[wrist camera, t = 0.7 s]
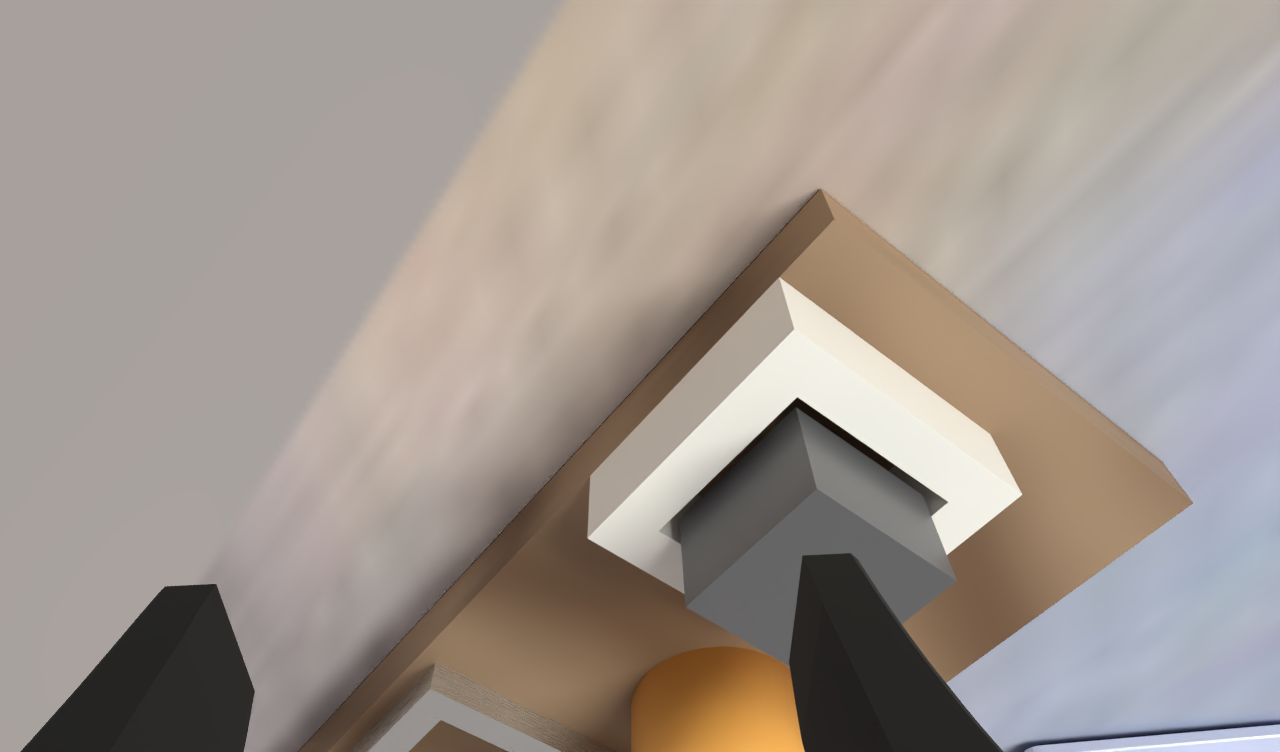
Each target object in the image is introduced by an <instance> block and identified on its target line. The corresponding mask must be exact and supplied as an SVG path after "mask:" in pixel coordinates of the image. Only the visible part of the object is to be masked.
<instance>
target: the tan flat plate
mask: <svg viewBox="0 0 1280 752" xmlns="http://www.w3.org/2000/svg"><path fill="white" fill-rule="evenodd" d="M779 277H780V278H781V279H782V280H784V281H785V282H786V283H788V284H789V285H790V286H792V287H793V288H795V289H796V290H797V291H799V292H800V293H801V294H803V295H804V296H805V297H807V298H808V299H809V300H811V301H812V302H813V303H815V304H816V305H817V306H819V307H820V308H821V309H823V310H824V311H825V312H827V313H828V314H829V315H831V316H832V317H833V318H835V319H836V320H837V321H839V322H840V323H842V324H843V325H844V326H846V327H847V328H848V329H850V330H851V331H852V332H854V333H855V334H856V335H858V336H859V337H860V338H862V339H863V340H864V341H866V342H867V343H868V344H870V345H871V346H872V347H874V348H875V349H876V350H878V351H879V352H880V353H882V354H883V355H885V356H886V357H887V358H889V359H890V360H891V361H893V362H894V363H895V364H897V365H898V366H899V367H901V368H902V369H903V370H905V371H906V372H907V373H909V374H910V375H911V376H913V377H914V378H915V379H917V380H918V381H919V382H921V383H922V384H923V385H925V386H926V387H928V388H929V389H930V390H932V391H933V392H934V393H936V394H937V395H938V396H940V397H941V398H942V399H944V400H945V401H946V402H948V403H949V404H950V405H952V406H953V407H954V408H956V409H957V410H958V411H960V412H961V413H962V414H964V415H965V416H966V417H968V418H969V419H970V420H972V421H973V422H975V423H976V424H977V425H979V426H980V427H981V428H983V429H984V430H985V431H987V432H988V433H989V434H990V435H991V437H992V438H993V440H994V442H995V444H996V446H997V448H998V450H999V452H1000V453H1001V455H1002V457H1003V459H1004V461H1005V463H1006V465H1007V467H1008V469H1009V470H1010V472H1011V474H1012V476H1013V478H1014V480H1015V482H1016V484H1017V485H1018V487H1019V489H1020V491H1021V493H1022V495H1021V496H1020V497H1019V498H1018V499H1016V500H1015V501H1014V502H1013V503H1011V504H1010V505H1009V506H1008V507H1006V508H1005V509H1004V510H1003V511H1001V512H1000V513H999V514H998V515H996V516H995V517H994V518H993V519H991V520H990V521H989V522H988V523H986V524H985V525H984V526H983V527H981V528H980V529H979V530H978V531H976V532H975V533H974V534H973V535H971V536H970V537H969V538H968V539H966V540H965V541H964V542H963V543H961V544H960V545H959V546H958V547H956V548H955V549H954V550H953V551H951V552H950V553H949V554H948V555H947V557H948V560H949V562H950V565H951V567H952V570H953V572H954V575H955V577H956V580H957V581H956V582H955V583H954V584H953V585H951V586H950V587H949V588H947V589H946V590H945V591H944V592H942V593H941V594H940V595H938V596H937V597H936V598H935V599H933V600H932V601H931V602H929V603H928V604H927V605H926V606H924V607H923V608H922V609H920V610H919V611H918V612H917V613H915V614H914V615H913V616H911V617H910V618H909V619H908V620H906V621H905V622H904V623H902V625H903V627H904V628H905V630H906V631H907V632H908V634H909V635H910V637H911V638H912V639H913V641H914V642H915V643H916V645H917V646H918V647H919V649H920V650H921V651H922V653H923V654H924V655H925V657H926V658H927V659H928V661H929V662H930V663H931V665H932V666H933V667H934V668H935V670H936V671H937V672H938V673H939V675H940V676H941V677H942V679H943V680H944V681H945V682H948V681H949V680H951V679H952V678H953V677H955V676H956V675H957V674H959V673H960V672H962V671H963V670H964V669H966V668H967V667H968V666H970V665H971V664H973V663H974V662H975V661H977V660H978V659H979V658H981V657H982V656H984V655H985V654H986V653H988V652H989V651H990V650H992V649H993V648H995V647H996V646H997V645H999V644H1000V643H1001V642H1003V641H1004V640H1006V639H1007V638H1008V637H1010V636H1011V635H1012V634H1014V633H1015V632H1017V631H1018V630H1019V629H1021V628H1022V627H1023V626H1025V625H1026V624H1028V623H1029V622H1030V621H1032V620H1033V619H1034V618H1036V617H1037V616H1039V615H1040V614H1041V613H1043V612H1044V611H1045V610H1047V609H1048V608H1050V607H1051V606H1052V605H1054V604H1055V603H1056V602H1058V601H1059V600H1061V599H1062V598H1063V597H1065V596H1066V595H1067V594H1069V593H1070V592H1072V591H1073V590H1074V589H1076V588H1077V587H1078V586H1080V585H1081V584H1083V583H1084V582H1085V581H1087V580H1088V579H1089V578H1091V577H1092V576H1094V575H1095V574H1096V573H1098V572H1099V571H1100V570H1102V569H1103V568H1105V567H1106V566H1107V565H1109V564H1110V563H1111V562H1113V561H1114V560H1116V559H1117V558H1118V557H1120V556H1121V555H1122V554H1124V553H1125V552H1127V551H1128V550H1129V549H1131V548H1132V547H1133V546H1135V545H1136V544H1138V543H1139V542H1140V541H1142V540H1143V539H1144V538H1146V537H1147V536H1149V535H1150V534H1151V533H1153V532H1154V531H1155V530H1157V529H1158V528H1160V527H1161V526H1162V525H1164V524H1165V523H1166V522H1168V521H1169V520H1171V519H1172V518H1173V517H1175V516H1176V515H1177V514H1179V513H1180V512H1182V511H1183V510H1184V509H1186V508H1187V507H1188V506H1190V505H1191V504H1193V502H1192V501H1191V499H1190V498H1189V497H1188V495H1187V494H1186V493H1185V491H1184V490H1183V489H1182V487H1181V486H1180V485H1179V483H1178V482H1177V481H1176V479H1175V478H1174V477H1173V475H1172V474H1171V473H1170V471H1169V470H1168V469H1167V467H1166V466H1165V465H1164V463H1163V462H1162V461H1161V460H1159V459H1158V458H1157V457H1156V456H1154V455H1153V454H1152V453H1151V452H1150V451H1148V450H1147V449H1146V448H1145V447H1143V446H1142V445H1141V444H1140V443H1138V442H1137V441H1136V440H1135V439H1133V438H1132V437H1131V436H1130V435H1128V434H1127V433H1126V432H1125V431H1123V430H1122V429H1121V428H1120V427H1118V426H1117V425H1116V424H1115V423H1113V422H1112V421H1111V420H1110V419H1108V418H1107V417H1106V416H1105V415H1103V414H1102V413H1101V412H1100V411H1098V410H1097V409H1096V408H1095V407H1093V406H1092V405H1091V404H1090V403H1088V402H1087V401H1086V400H1085V399H1083V398H1082V397H1081V396H1080V395H1078V394H1077V393H1076V392H1075V391H1073V390H1072V389H1071V388H1070V387H1068V386H1067V385H1066V384H1065V383H1063V382H1062V381H1061V380H1060V379H1058V378H1057V377H1056V376H1055V375H1053V374H1052V373H1051V372H1050V371H1048V370H1047V369H1046V368H1045V367H1043V366H1042V365H1041V364H1040V363H1038V362H1037V361H1036V360H1035V359H1033V358H1032V357H1031V356H1030V355H1028V354H1027V353H1026V352H1025V351H1023V350H1022V349H1021V348H1020V347H1018V346H1017V345H1016V344H1015V343H1013V342H1012V341H1011V340H1010V339H1008V338H1007V337H1006V336H1005V335H1003V334H1002V333H1001V332H1000V331H998V330H997V329H996V328H995V327H993V326H992V325H991V324H990V323H988V322H987V321H986V320H985V319H983V318H982V317H981V316H980V315H978V314H977V313H976V312H975V311H973V310H972V309H971V308H970V307H968V306H967V305H966V304H965V303H963V302H962V301H961V300H960V299H958V298H957V297H956V296H955V295H953V294H952V293H951V292H950V291H948V290H947V289H946V288H945V287H943V286H942V285H941V284H940V283H938V282H937V281H936V280H935V279H933V278H932V277H931V276H930V275H928V274H927V273H926V272H925V271H923V270H922V269H921V268H920V267H918V266H917V265H916V264H915V263H913V262H912V261H911V260H910V259H908V258H907V257H906V256H905V255H903V254H902V253H901V252H900V251H898V250H897V249H896V248H895V247H893V246H892V245H891V244H890V243H888V242H887V241H886V240H885V239H883V238H882V237H881V236H880V235H878V234H877V233H876V232H875V231H873V230H872V229H871V228H870V227H868V226H867V225H866V224H865V223H863V222H862V221H861V220H860V219H858V218H857V217H856V216H855V215H853V214H852V213H851V212H850V211H848V210H847V209H846V208H845V207H843V206H842V205H841V204H840V203H838V202H837V201H836V200H835V199H833V198H832V197H831V196H830V195H828V194H827V193H826V192H825V191H824V190H822V189H820V190H819V191H818V192H817V193H816V194H815V195H814V196H813V198H812V199H811V200H810V201H809V202H808V203H807V204H806V205H805V206H804V207H803V208H802V209H801V210H800V212H799V213H798V214H797V215H796V216H795V217H794V218H793V219H792V220H791V221H790V222H789V223H788V224H787V226H786V227H785V228H784V229H783V230H782V231H781V232H780V233H779V234H778V235H777V236H776V237H775V238H774V240H773V241H772V242H771V243H770V244H769V245H768V246H767V247H766V248H765V249H764V250H763V251H762V252H761V254H760V255H759V256H758V257H757V258H756V259H755V260H754V261H753V262H752V263H751V264H750V265H749V266H748V268H747V269H746V270H745V271H744V272H743V273H742V274H741V275H740V276H739V277H738V278H737V279H736V281H735V282H734V283H733V284H732V285H731V286H730V287H729V288H728V289H727V290H726V291H725V292H724V293H723V295H722V296H721V297H720V298H719V299H718V300H717V301H716V302H715V303H714V304H713V305H712V306H711V307H710V309H709V310H708V311H707V312H706V313H705V314H704V315H703V316H702V317H701V318H700V319H699V320H698V321H697V323H696V324H695V325H694V326H693V327H692V328H691V329H690V330H689V331H688V332H687V333H686V334H685V335H684V337H683V338H682V339H681V340H680V341H679V342H678V343H677V344H676V345H675V346H674V347H673V348H672V350H671V351H670V352H669V353H668V354H667V355H666V356H665V357H664V358H663V359H662V360H661V361H660V362H659V364H658V365H657V366H656V367H655V368H654V369H653V370H652V371H651V372H650V373H649V374H648V375H647V376H646V378H645V379H644V380H643V381H642V382H641V383H640V384H639V385H638V386H637V387H636V388H635V389H634V390H633V392H632V393H631V394H630V395H629V396H628V397H627V398H626V399H625V400H624V401H623V402H622V403H621V404H620V406H619V407H618V408H617V409H616V410H615V411H614V412H613V413H612V414H611V415H610V416H609V417H608V418H607V420H606V421H605V422H604V423H603V424H602V425H601V426H600V427H599V428H598V429H597V430H596V431H595V433H594V434H593V435H592V436H591V437H590V438H589V439H588V440H587V441H586V442H585V443H584V444H583V445H582V447H581V448H580V449H579V450H578V451H577V452H576V453H575V454H574V455H573V456H572V457H571V458H570V459H569V461H568V462H567V463H566V464H565V465H564V466H563V467H562V468H561V469H560V470H559V471H558V472H557V473H556V475H555V476H554V477H553V478H552V479H551V480H550V481H549V482H548V483H547V484H546V485H545V486H544V487H543V489H542V490H541V491H540V492H539V493H538V494H537V495H536V496H535V497H534V498H533V499H532V500H531V502H530V503H529V504H528V505H527V506H526V507H525V508H524V509H523V510H522V511H521V512H520V513H519V514H518V516H517V517H516V518H515V519H514V520H513V521H512V522H511V523H510V524H509V525H508V526H507V527H506V528H505V530H504V531H503V532H502V533H501V534H500V535H499V536H498V537H497V538H496V539H495V540H494V541H493V542H492V544H491V545H490V546H489V547H488V548H487V549H486V550H485V551H484V552H483V553H482V554H481V555H480V556H479V558H478V559H477V560H476V561H475V562H474V563H473V564H472V565H471V566H470V567H469V568H468V569H467V570H466V572H465V573H464V574H463V575H462V576H461V577H460V578H459V579H458V580H457V581H456V582H455V583H454V585H453V586H452V587H451V588H450V589H449V590H448V591H447V592H446V593H445V594H444V595H443V596H442V597H441V599H440V600H439V601H438V602H437V603H436V604H435V605H434V606H433V607H432V608H431V609H430V610H429V611H428V613H427V614H426V615H425V616H424V617H423V618H422V619H421V620H420V621H419V622H418V623H417V624H416V625H415V627H414V628H413V629H412V630H411V631H410V632H409V633H408V634H407V635H406V636H405V637H404V638H403V639H402V641H401V642H400V643H399V644H398V645H397V646H396V647H395V648H394V649H393V650H392V651H391V652H390V653H389V655H388V656H387V657H386V658H385V659H384V660H383V661H382V662H381V663H380V664H379V665H378V666H377V668H376V669H375V670H374V671H373V672H372V673H371V674H370V675H369V676H368V677H367V678H366V679H365V680H364V682H363V683H362V684H361V685H360V686H359V687H358V688H357V689H356V690H355V691H354V692H353V693H352V694H351V696H350V697H349V698H348V699H347V700H346V701H345V702H344V703H343V704H342V705H341V706H340V707H339V708H338V710H337V711H336V712H335V713H334V714H333V715H332V716H331V717H330V718H329V719H328V720H327V721H326V722H325V724H324V725H323V726H322V727H321V728H320V729H319V730H318V731H317V732H316V733H315V734H314V735H313V737H312V738H311V739H310V740H309V741H308V742H307V743H306V744H305V745H304V746H303V747H302V748H301V749H300V751H299V752H349V751H350V750H351V749H352V748H353V747H354V746H355V745H356V744H357V743H358V742H359V741H360V740H361V739H362V738H363V737H364V736H365V735H366V734H367V733H368V732H369V731H370V730H371V729H372V728H373V727H374V726H375V725H376V724H377V723H378V722H379V721H380V719H381V718H382V717H383V716H384V715H385V714H386V713H387V712H388V711H389V710H390V709H391V708H392V707H393V706H394V705H395V704H396V703H397V702H398V701H399V700H400V699H401V698H402V697H403V696H404V695H405V694H406V693H407V692H408V691H409V690H410V689H411V687H412V686H413V685H414V684H415V683H416V682H417V681H418V680H419V679H420V678H421V677H422V676H423V675H424V674H425V673H426V672H427V671H428V670H429V669H430V668H431V667H432V666H433V665H434V664H435V663H437V664H439V665H441V666H443V667H445V668H447V669H449V670H451V671H454V672H456V673H458V674H460V675H462V676H464V677H466V678H468V679H470V680H472V681H474V682H476V683H478V684H480V685H482V686H484V687H486V688H488V689H490V690H492V691H494V692H496V693H498V694H500V695H503V696H505V697H507V698H509V699H511V700H513V701H515V702H517V703H519V704H521V705H523V706H525V707H527V708H529V709H531V710H533V711H535V712H537V713H539V714H541V715H543V716H545V717H547V718H550V719H552V720H554V721H556V722H558V723H560V724H562V725H564V726H566V727H568V728H570V729H572V730H574V731H576V732H578V733H580V734H582V735H584V736H586V737H588V738H590V739H592V740H594V741H597V742H599V743H601V744H603V745H605V746H607V747H609V748H611V749H613V750H615V751H617V752H631V702H632V697H633V694H634V691H635V689H636V687H637V685H638V684H639V682H640V681H641V680H642V678H643V677H644V676H645V675H646V674H647V673H648V672H649V671H650V670H651V669H653V668H654V667H655V666H657V665H658V664H660V663H661V662H663V661H665V660H666V659H668V658H671V657H673V656H675V655H677V654H680V653H683V652H686V651H690V650H694V649H699V648H706V647H718V646H727V647H739V648H746V649H750V650H754V651H757V652H760V653H763V654H766V655H768V656H770V657H772V656H771V655H769V654H767V653H765V652H764V651H762V650H760V649H758V648H757V647H755V646H753V645H751V644H750V643H748V642H746V641H744V640H743V639H741V638H739V637H737V636H735V635H734V634H732V633H730V632H728V631H727V630H725V629H723V628H721V627H720V626H718V625H716V624H714V623H713V622H711V621H709V620H707V619H706V618H704V617H702V616H700V615H698V614H697V613H695V612H693V611H691V610H690V609H688V608H686V607H685V594H683V593H682V592H680V591H678V590H677V589H675V588H673V587H671V586H670V585H668V584H666V583H664V582H663V581H661V580H659V579H657V578H656V577H654V576H652V575H650V574H649V573H647V572H645V571H643V570H642V569H640V568H638V567H636V566H635V565H633V564H631V563H629V562H628V561H626V560H624V559H622V558H621V557H619V556H617V555H615V554H614V553H612V552H610V551H609V550H607V549H605V548H603V547H602V546H600V545H598V544H596V543H595V542H593V541H591V540H589V539H588V538H587V535H588V514H589V492H590V475H591V474H592V473H593V472H594V471H595V470H596V469H597V468H598V467H599V466H600V465H601V464H602V463H603V462H604V461H605V460H606V459H607V458H608V457H609V455H610V454H611V453H612V452H613V451H614V450H615V449H616V448H617V447H618V446H619V445H620V444H621V443H622V442H623V441H624V440H625V439H626V438H627V437H628V436H629V434H630V433H631V432H632V431H633V430H634V429H635V428H636V427H637V426H638V425H639V424H640V423H641V422H642V421H643V420H644V419H645V418H646V417H647V416H648V414H649V413H650V412H651V411H652V410H653V409H654V408H655V407H656V406H657V405H658V404H659V403H660V402H661V401H662V400H663V399H664V398H665V397H666V396H667V395H668V393H669V392H670V391H671V390H672V389H673V388H674V387H675V386H676V385H677V384H678V383H679V382H680V381H681V380H682V379H683V378H684V377H685V376H686V375H687V373H688V372H689V371H690V370H691V369H692V368H693V367H694V366H695V365H696V364H697V363H698V362H699V361H700V360H701V359H702V358H703V357H704V356H705V355H706V354H707V352H708V351H709V350H710V349H711V348H712V347H713V346H714V345H715V344H716V343H717V342H718V341H719V340H720V339H721V338H722V337H723V336H724V335H725V334H726V332H727V331H728V330H729V329H730V328H731V327H732V326H733V325H734V324H735V323H736V322H737V321H738V320H739V319H740V318H741V317H742V316H743V315H744V314H745V313H746V311H747V310H748V309H749V308H750V307H751V306H752V305H753V304H754V303H755V302H756V301H757V300H758V299H759V298H760V297H761V296H762V295H763V294H764V293H765V291H766V290H767V289H768V288H769V287H770V286H771V285H772V284H773V283H774V282H775V281H776V280H777V279H778V278H779ZM795 407H796V408H798V409H799V410H801V411H802V412H804V413H805V414H807V415H808V416H809V417H811V418H812V419H814V420H815V421H817V422H818V423H820V424H821V425H822V426H824V427H825V428H827V429H828V430H830V431H831V432H833V433H834V434H836V435H837V436H838V437H840V438H841V439H843V440H844V441H846V442H847V443H849V444H850V445H851V446H853V447H854V448H856V449H857V450H859V451H860V452H862V453H863V454H865V455H866V456H867V457H869V458H870V459H872V460H873V461H875V462H876V463H878V464H879V465H880V466H882V467H883V468H885V469H886V470H888V471H889V470H890V469H891V468H892V467H894V466H895V465H894V464H893V463H891V462H890V461H889V460H887V459H886V458H884V457H883V456H881V455H880V454H879V453H877V452H876V451H874V450H873V449H871V448H870V447H868V446H867V445H866V444H864V443H863V442H861V441H860V440H858V439H857V438H856V437H854V436H853V435H851V434H850V433H848V432H847V431H845V430H844V429H843V428H841V427H840V426H838V425H837V424H835V423H834V422H832V421H831V420H830V419H828V418H827V417H825V416H824V415H822V414H821V413H820V412H818V411H817V410H815V409H814V408H812V407H811V406H809V405H808V404H807V403H805V402H804V401H802V400H801V399H799V398H798V397H797V398H796V399H795V400H794V401H793V402H792V403H791V404H790V405H789V406H788V407H786V408H785V409H784V410H783V411H782V412H781V413H780V414H779V415H778V416H777V417H776V418H775V419H774V420H773V421H772V422H771V423H770V424H769V425H768V426H767V427H766V428H765V429H764V430H763V431H762V432H761V433H760V434H759V435H758V436H756V437H755V438H754V439H753V440H752V441H751V442H750V443H749V444H748V445H747V446H746V447H745V448H744V449H743V450H742V451H741V452H740V453H739V454H738V455H737V456H736V457H735V458H734V459H733V460H732V461H731V462H730V463H729V464H728V465H726V466H725V467H724V468H723V469H722V470H721V471H720V472H719V473H718V474H717V475H716V476H715V477H714V478H713V479H712V480H711V481H710V482H709V483H708V484H707V485H706V486H705V487H704V488H703V489H702V490H701V491H700V492H699V493H698V494H697V495H699V496H700V497H703V496H704V495H705V494H706V493H707V492H708V491H709V490H710V489H711V488H712V487H713V486H714V485H715V484H716V483H717V482H718V481H719V480H720V479H721V478H722V477H723V476H725V475H726V474H727V473H728V472H729V471H730V470H731V469H732V468H733V467H734V466H735V465H736V464H737V463H738V462H739V461H740V460H741V459H742V458H743V457H744V456H745V455H746V454H747V453H748V452H749V451H751V450H752V449H753V448H754V447H755V446H756V445H757V444H758V443H759V442H760V441H761V440H762V439H763V438H764V437H765V436H766V435H767V434H768V433H769V432H770V431H771V430H772V429H773V428H774V427H775V426H777V425H778V424H779V423H780V422H781V421H782V420H783V419H784V418H785V417H786V416H787V415H788V414H789V413H790V412H791V411H792V410H793V409H794V408H795ZM772 658H774V657H772ZM774 659H776V658H774ZM776 660H777V661H779V660H778V659H776ZM779 662H781V661H779ZM781 663H782V664H784V665H785V666H786V667H787V668H788V669H789V670H790V666H788V665H787V664H785V663H783V662H781ZM409 752H508V751H506V750H504V749H502V748H500V747H498V746H496V745H493V744H491V743H489V742H487V741H485V740H483V739H481V738H478V737H476V736H474V735H472V734H470V733H468V732H466V731H463V730H461V729H459V728H457V727H455V726H453V725H451V724H448V723H446V722H444V721H442V720H440V721H439V722H438V723H437V724H436V725H435V726H434V727H433V728H432V729H431V730H430V731H429V732H428V733H427V734H426V735H425V736H424V737H423V738H422V739H421V740H420V741H419V742H418V743H417V744H416V745H415V746H414V747H413V748H412V749H411V750H410V751H409Z"/></svg>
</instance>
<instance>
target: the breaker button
mask: <svg viewBox="0 0 1280 752" xmlns="http://www.w3.org/2000/svg"><path fill="white" fill-rule="evenodd" d="M679 523H680V537H681V551H682V565H683V579H684V593H685V607H686V608H688V609H690V610H691V611H693V612H695V613H697V614H698V615H700V616H702V617H704V618H706V619H707V620H709V621H711V622H713V623H714V624H716V625H718V626H720V627H721V628H723V629H725V630H727V631H728V632H730V633H732V634H734V635H735V636H737V637H739V638H741V639H743V640H744V641H746V642H748V643H750V644H751V645H753V646H755V647H757V648H758V649H760V650H762V651H764V652H765V653H767V654H769V655H771V656H772V657H774V658H776V659H778V660H779V661H781V662H783V663H785V664H787V665H788V666H789V658H790V650H791V642H792V634H793V626H794V618H795V610H796V603H797V595H798V587H799V579H800V571H801V563H802V556H803V555H822V554H843V553H851V554H852V555H853V556H855V557H856V558H857V559H858V560H859V562H860V563H861V565H862V567H863V568H864V570H865V571H866V573H867V574H868V576H869V577H870V579H871V580H872V582H873V583H874V585H875V586H876V588H877V589H878V591H879V592H880V594H881V595H882V597H883V598H884V600H885V601H886V603H887V604H888V606H889V607H890V608H891V610H892V611H893V613H894V614H895V616H896V617H897V618H898V620H899V621H900V623H901V624H902V623H904V622H905V621H906V620H908V619H909V618H910V617H911V616H913V615H914V614H915V613H917V612H918V611H919V610H920V609H922V608H923V607H924V606H926V605H927V604H928V603H929V602H931V601H932V600H933V599H935V598H936V597H937V596H938V595H940V594H941V593H942V592H944V591H945V590H946V589H947V588H949V587H950V586H951V585H953V584H954V583H955V582H956V581H957V580H956V577H955V575H954V572H953V570H952V567H951V565H950V562H949V560H948V557H947V555H946V552H945V550H944V547H943V545H942V542H941V540H940V537H939V535H938V532H937V530H936V527H935V525H934V522H933V520H932V517H931V514H930V512H929V509H928V507H927V504H926V502H925V499H924V497H923V495H922V494H921V493H920V492H918V491H917V490H915V489H914V488H912V487H911V486H909V485H908V484H907V483H905V482H904V481H902V480H901V479H899V478H898V477H896V476H895V475H894V474H892V473H891V472H889V471H888V470H886V469H885V468H883V467H882V466H880V465H879V464H878V463H876V462H875V461H873V460H872V459H870V458H869V457H867V456H866V455H865V454H863V453H862V452H860V451H859V450H857V449H856V448H854V447H853V446H851V445H850V444H849V443H847V442H846V441H844V440H843V439H841V438H840V437H838V436H837V435H836V434H834V433H833V432H831V431H830V430H828V429H827V428H825V427H824V426H822V425H821V424H820V423H818V422H817V421H815V420H814V419H812V418H811V417H809V416H808V415H807V414H805V413H804V412H802V411H801V410H799V409H798V408H796V407H795V408H794V409H793V410H792V411H791V412H790V413H789V414H788V415H787V416H786V417H785V418H784V419H783V420H782V421H781V422H780V423H779V424H778V425H777V426H775V427H774V428H773V429H772V430H771V431H770V432H769V433H768V434H767V435H766V436H765V437H764V438H763V439H762V440H761V441H760V442H759V443H758V444H757V445H756V446H755V447H754V448H753V449H752V450H751V451H749V452H748V453H747V454H746V455H745V456H744V457H743V458H742V459H741V460H740V461H739V462H738V463H737V464H736V465H735V466H734V467H733V468H732V469H731V470H730V471H729V472H728V473H727V474H726V475H725V476H723V477H722V478H721V479H720V480H719V481H718V482H717V483H716V484H715V485H714V486H713V487H712V488H711V489H710V490H709V491H708V492H707V493H706V494H705V495H704V496H703V497H702V498H701V499H700V500H699V501H698V502H696V503H695V504H694V505H693V506H692V507H691V508H690V509H689V510H688V511H687V512H686V513H685V514H684V515H683V516H682V517H681V518H680V519H679Z"/></svg>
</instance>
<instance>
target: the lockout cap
mask: <svg viewBox="0 0 1280 752" xmlns="http://www.w3.org/2000/svg"><path fill="white" fill-rule="evenodd" d="M631 752H805V751H804V747H803V743H802V739H801V733H800V727H799V722H798V716H797V710H796V704H795V698H794V691H793V685H792V679H791V672H790V670H789V669H788V668H787V667H786V666H785V665H784V664H782V663H781V662H779V661H777V660H776V659H774V658H772V657H770V656H768V655H766V654H763V653H760V652H757V651H754V650H750V649H746V648H739V647H727V646H718V647H706V648H699V649H694V650H690V651H686V652H683V653H680V654H677V655H675V656H673V657H671V658H668V659H666V660H665V661H663V662H661V663H660V664H658V665H657V666H655V667H654V668H653V669H651V670H650V671H649V672H648V673H647V674H646V675H645V676H644V677H643V678H642V680H641V681H640V682H639V684H638V685H637V687H636V689H635V691H634V694H633V697H632V702H631Z"/></svg>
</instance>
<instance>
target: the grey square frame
mask: <svg viewBox="0 0 1280 752" xmlns="http://www.w3.org/2000/svg"><path fill="white" fill-rule="evenodd" d="M440 720H442V721H444V722H446V723H448V724H451V725H453V726H455V727H457V728H459V729H461V730H463V731H466V732H468V733H470V734H472V735H474V736H476V737H478V738H481V739H483V740H485V741H487V742H489V743H491V744H493V745H496V746H498V747H500V748H502V749H504V750H506V751H508V752H617V751H615V750H613V749H611V748H609V747H607V746H605V745H603V744H601V743H599V742H597V741H594V740H592V739H590V738H588V737H586V736H584V735H582V734H580V733H578V732H576V731H574V730H572V729H570V728H568V727H566V726H564V725H562V724H560V723H558V722H556V721H554V720H552V719H550V718H547V717H545V716H543V715H541V714H539V713H537V712H535V711H533V710H531V709H529V708H527V707H525V706H523V705H521V704H519V703H517V702H515V701H513V700H511V699H509V698H507V697H505V696H503V695H500V694H498V693H496V692H494V691H492V690H490V689H488V688H486V687H484V686H482V685H480V684H478V683H476V682H474V681H472V680H470V679H468V678H466V677H464V676H462V675H460V674H458V673H456V672H454V671H451V670H449V669H447V668H445V667H443V666H441V665H439V664H437V663H435V664H434V665H433V666H432V667H431V668H430V669H429V670H428V671H427V672H426V673H425V674H424V675H423V676H422V677H421V678H420V679H419V680H418V681H417V682H416V683H415V684H414V685H413V686H412V687H411V689H410V690H409V691H408V692H407V693H406V694H405V695H404V696H403V697H402V698H401V699H400V700H399V701H398V702H397V703H396V704H395V705H394V706H393V707H392V708H391V709H390V710H389V711H388V712H387V713H386V714H385V715H384V716H383V717H382V718H381V719H380V721H379V722H378V723H377V724H376V725H375V726H374V727H373V728H372V729H371V730H370V731H369V732H368V733H367V734H366V735H365V736H364V737H363V738H362V739H361V740H360V741H359V742H358V743H357V744H356V745H355V746H354V747H353V748H352V749H351V750H350V751H349V752H409V751H410V750H411V749H412V748H413V747H414V746H415V745H416V744H417V743H418V742H419V741H420V740H421V739H422V738H423V737H424V736H425V735H426V734H427V733H428V732H429V731H430V730H431V729H432V728H433V727H434V726H435V725H436V724H437V723H438V722H439V721H440Z"/></svg>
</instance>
